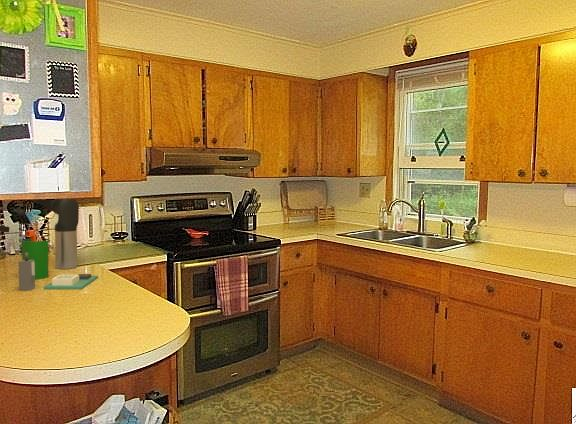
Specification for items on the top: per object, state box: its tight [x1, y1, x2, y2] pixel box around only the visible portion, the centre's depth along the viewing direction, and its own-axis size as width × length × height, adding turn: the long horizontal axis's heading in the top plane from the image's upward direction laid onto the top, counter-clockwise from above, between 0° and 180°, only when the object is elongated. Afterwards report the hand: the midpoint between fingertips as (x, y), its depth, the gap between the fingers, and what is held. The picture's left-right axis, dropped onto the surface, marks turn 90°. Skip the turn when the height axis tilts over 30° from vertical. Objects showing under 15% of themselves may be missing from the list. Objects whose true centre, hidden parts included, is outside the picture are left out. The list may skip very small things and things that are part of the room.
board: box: [43, 272, 99, 290], centre depth 193 cm, size 20×14×4 cm
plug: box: [18, 253, 36, 292], centre depth 182 cm, size 4×5×14 cm
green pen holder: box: [21, 229, 49, 280], centre depth 202 cm, size 10×9×20 cm
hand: (4, 230), depth 180 cm, fingers open, 8 cm apart
